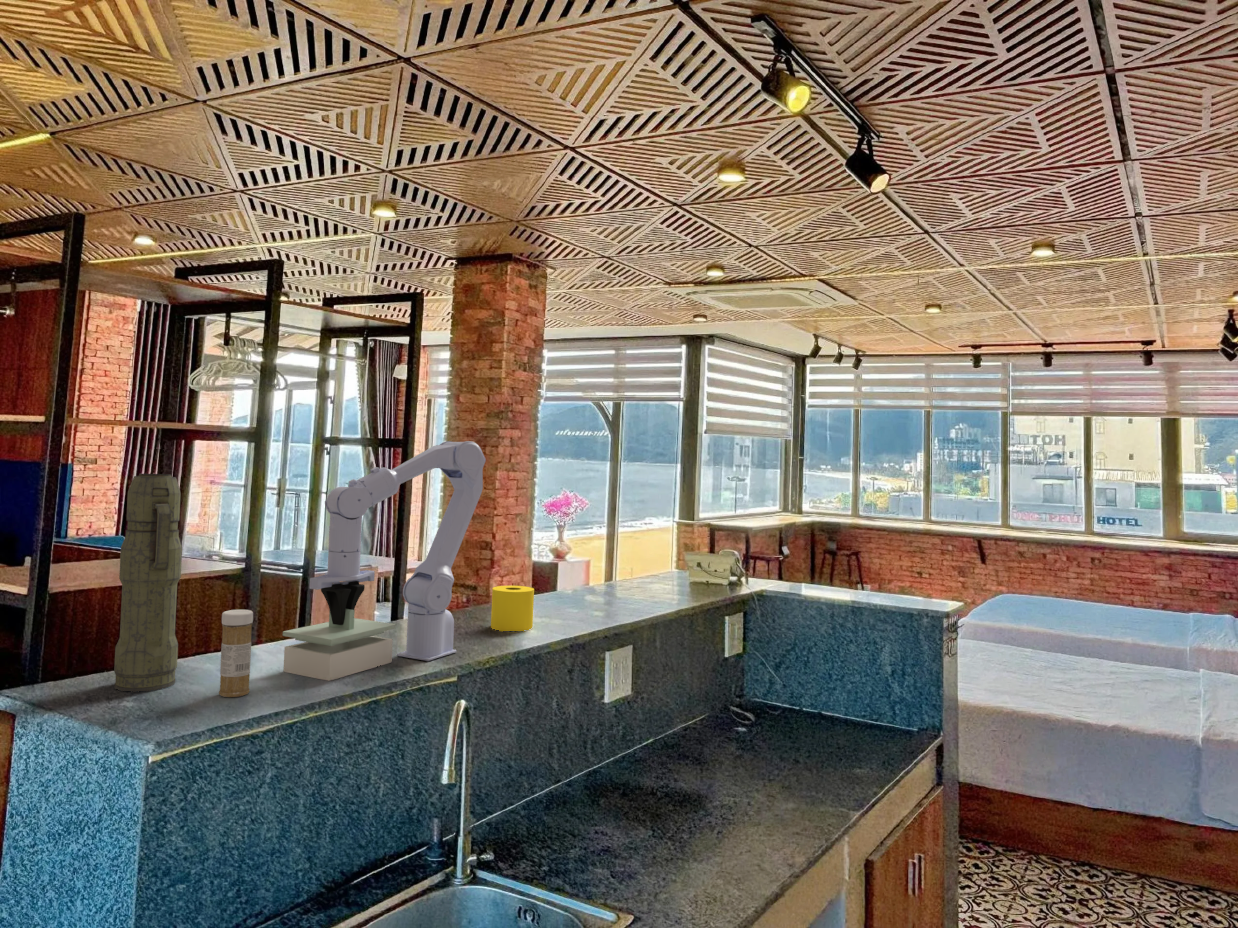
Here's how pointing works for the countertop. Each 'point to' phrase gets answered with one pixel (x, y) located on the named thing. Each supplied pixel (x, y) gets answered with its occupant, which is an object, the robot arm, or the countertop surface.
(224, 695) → the sprinkles bottle
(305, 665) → the tub
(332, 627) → the lid
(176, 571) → the thermos
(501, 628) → the yellow paper roll
